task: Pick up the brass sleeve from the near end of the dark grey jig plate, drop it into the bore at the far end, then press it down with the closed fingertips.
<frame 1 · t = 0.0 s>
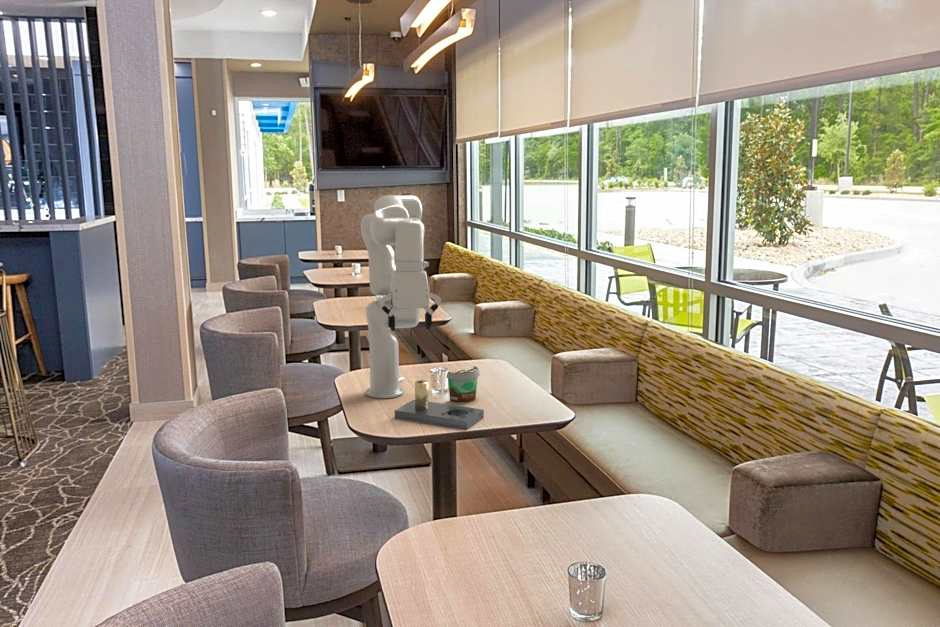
hand: (410, 329, 210), 31 cm above the table, tool pointing down, fingers open, 9 cm apart
food container: (467, 400, 251), on the table
jig plate: (439, 417, 234), on the table
brass sleeve: (421, 407, 235), point 2 cm above the table, touching jig plate
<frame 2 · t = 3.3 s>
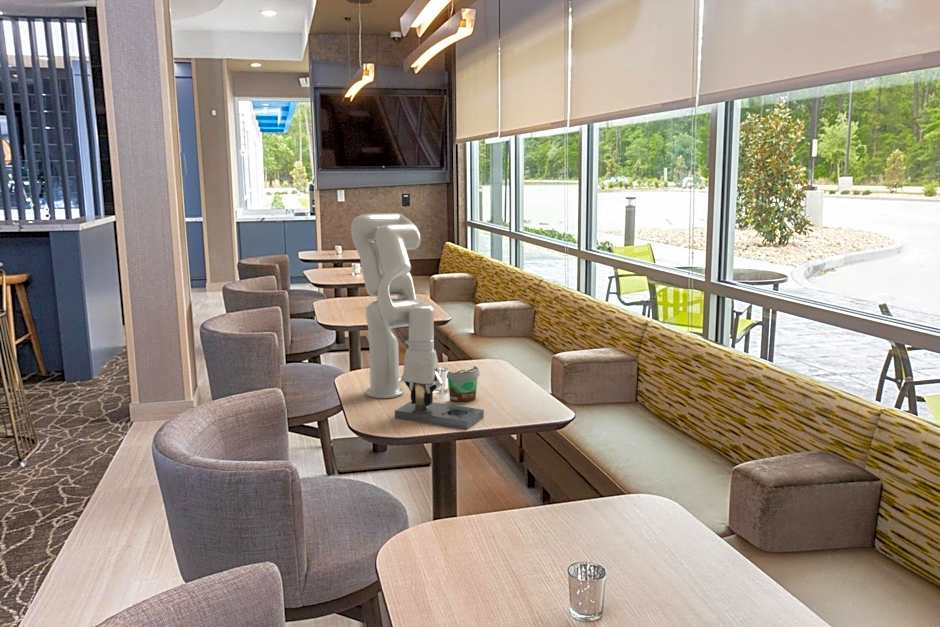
hand: (421, 403, 235), 4 cm above the table, tool pointing down, fingers closed on brass sleeve, 4 cm apart
brass sleeve: (421, 407, 235), point 2 cm above the table, touching gripper, jig plate
everything else where it was.
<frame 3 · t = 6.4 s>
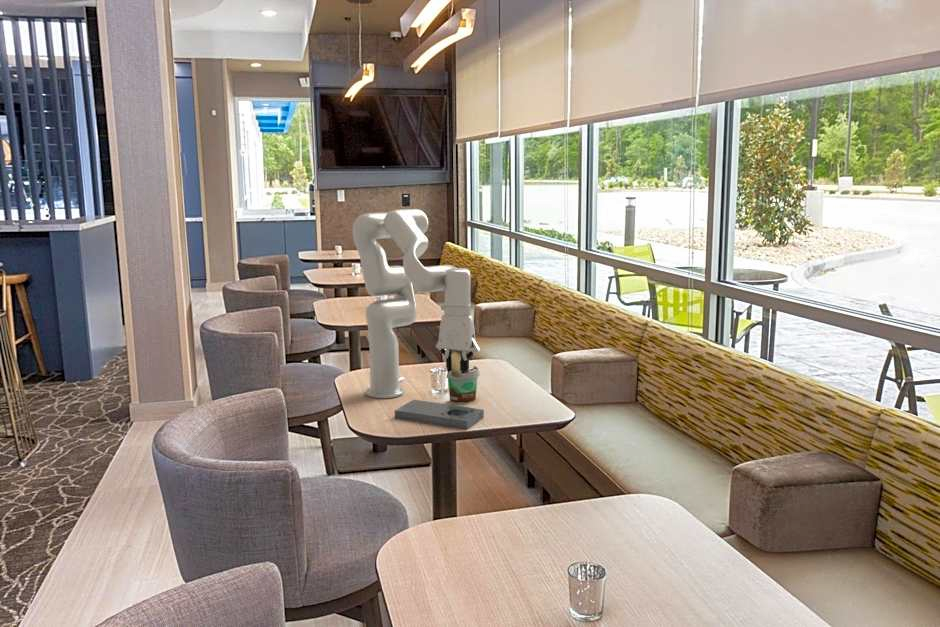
hand: (457, 371, 228), 15 cm above the table, tool pointing down, fingers closed on brass sleeve, 4 cm apart
brass sleeve: (457, 375, 228), point 14 cm above the table, touching gripper
everything else where it was.
when the fingers open (3 cm above the table, at t = 9.3 s): brass sleeve drops 2 cm, resting in jig plate.
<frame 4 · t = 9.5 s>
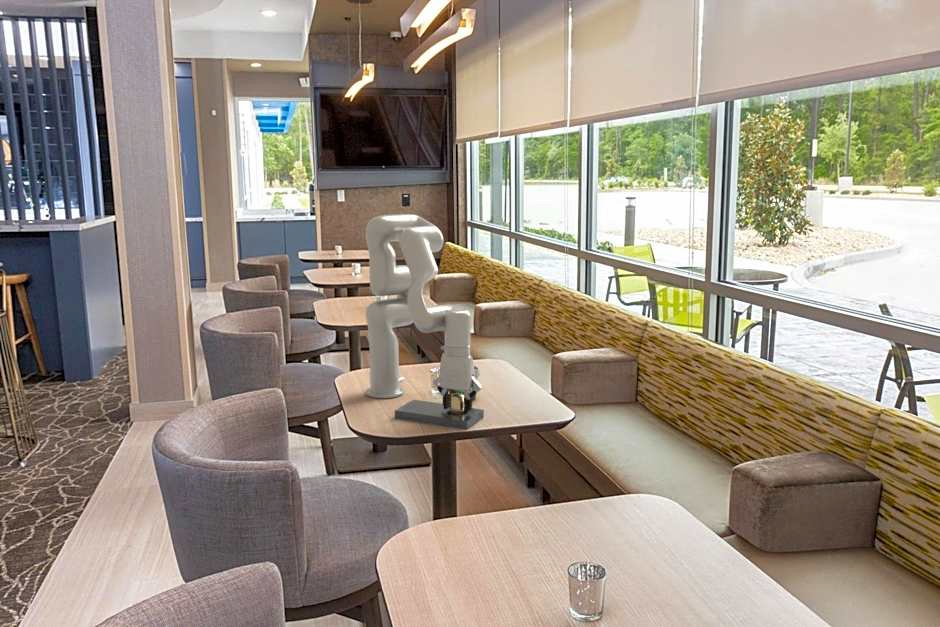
hand: (457, 409, 230), 4 cm above the table, tool pointing down, fingers open, 6 cm apart
brass sleeve: (457, 420, 231), resting in jig plate
everything else where it was.
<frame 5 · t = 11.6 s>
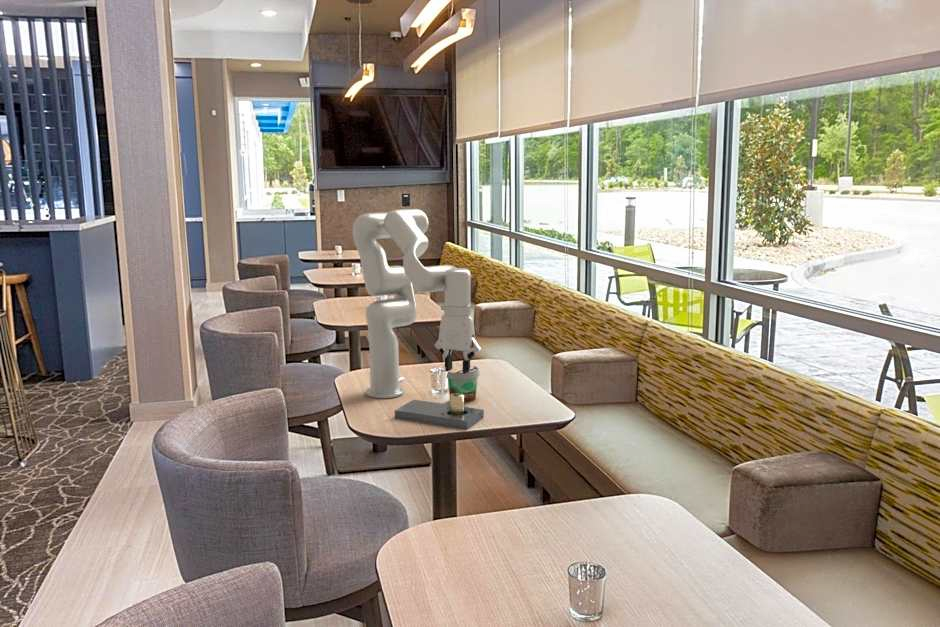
hand: (457, 370, 228), 15 cm above the table, tool pointing down, fingers open, 4 cm apart
nothing on the table moved.
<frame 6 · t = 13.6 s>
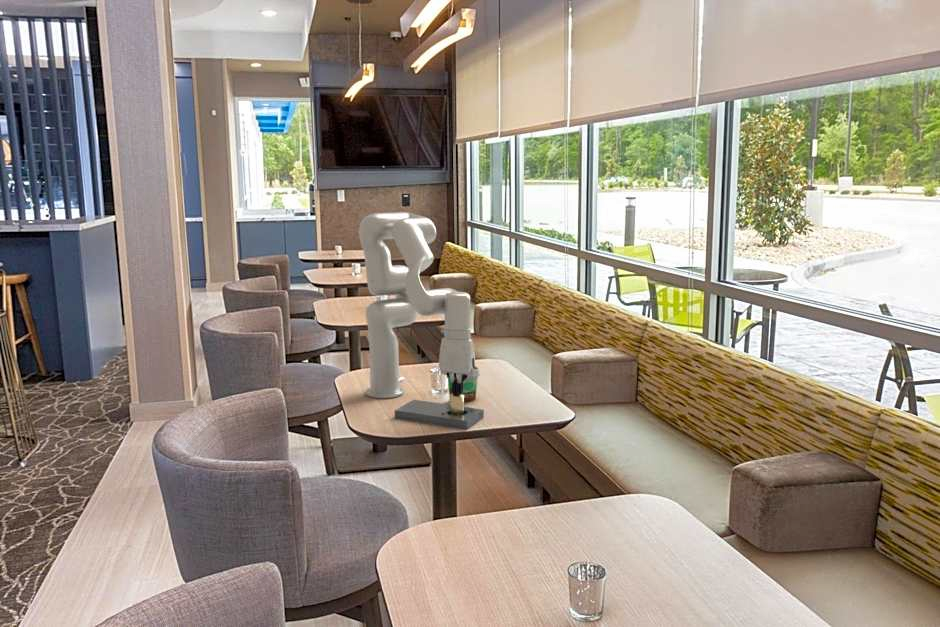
hand: (457, 394, 229), 8 cm above the table, tool pointing down, fingers closed
brass sleeve: (457, 420, 231), resting in jig plate, touching gripper
everything else where it was.
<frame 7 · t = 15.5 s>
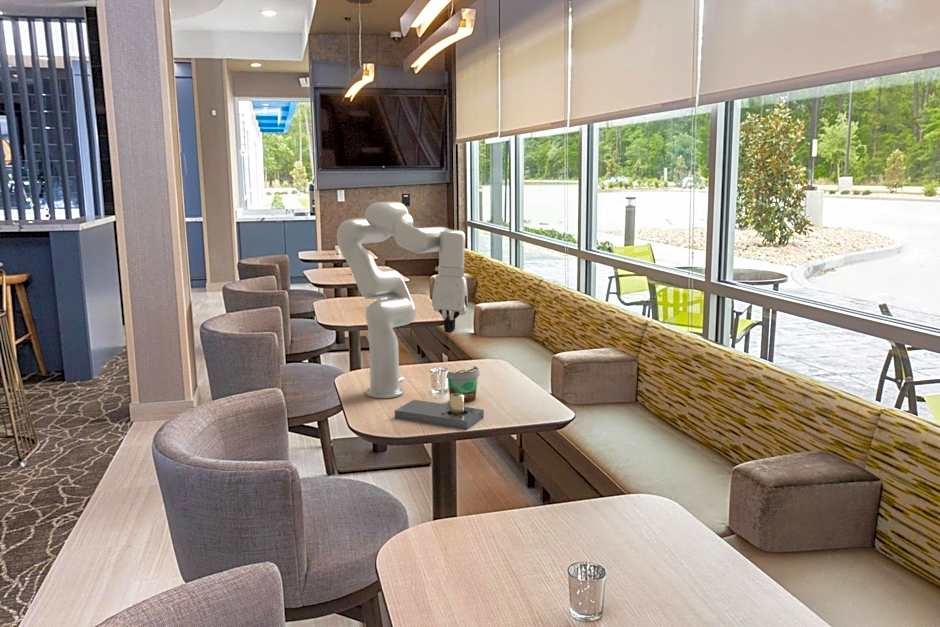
hand: (449, 331, 233), 26 cm above the table, tool pointing down, fingers closed
brass sleeve: (457, 420, 231), resting in jig plate
everything else where it was.
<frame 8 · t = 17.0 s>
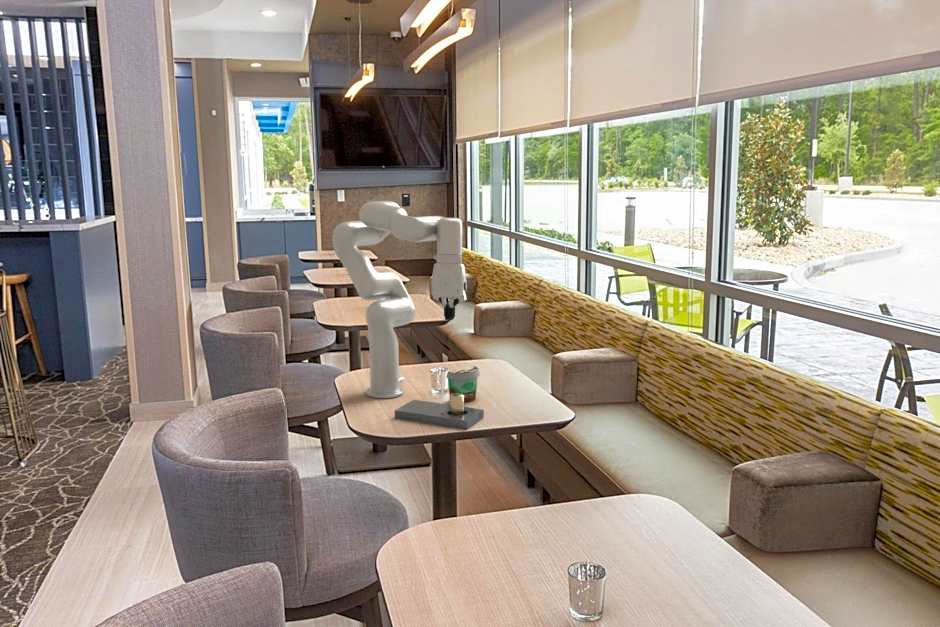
hand: (449, 319, 234), 29 cm above the table, tool pointing down, fingers closed
nothing on the table moved.
at the end: brass sleeve 0.0 cm from the target spot on the jig plate, point 0.0 cm above the jig plate's base; brass sleeve tilted 0°; the gripper is holding nothing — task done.
